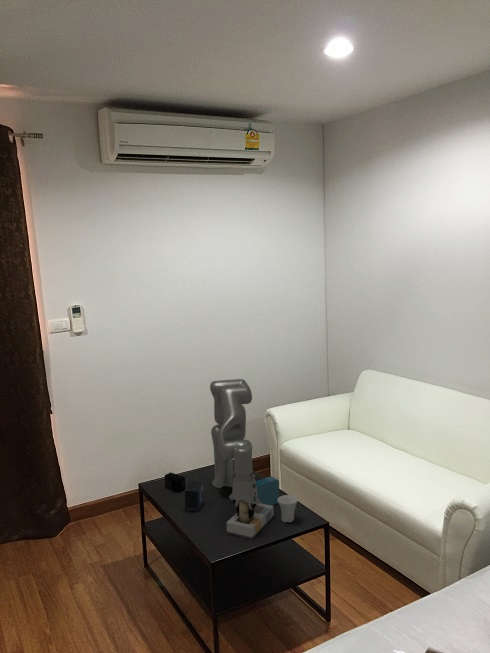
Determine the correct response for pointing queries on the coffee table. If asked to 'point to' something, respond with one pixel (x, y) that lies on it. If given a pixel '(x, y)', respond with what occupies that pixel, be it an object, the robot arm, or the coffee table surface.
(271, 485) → the data package
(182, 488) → the digital camera
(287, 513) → the cup
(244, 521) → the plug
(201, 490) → the small box
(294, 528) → the coffee table surface
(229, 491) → the hairbrush
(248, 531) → the socket block
